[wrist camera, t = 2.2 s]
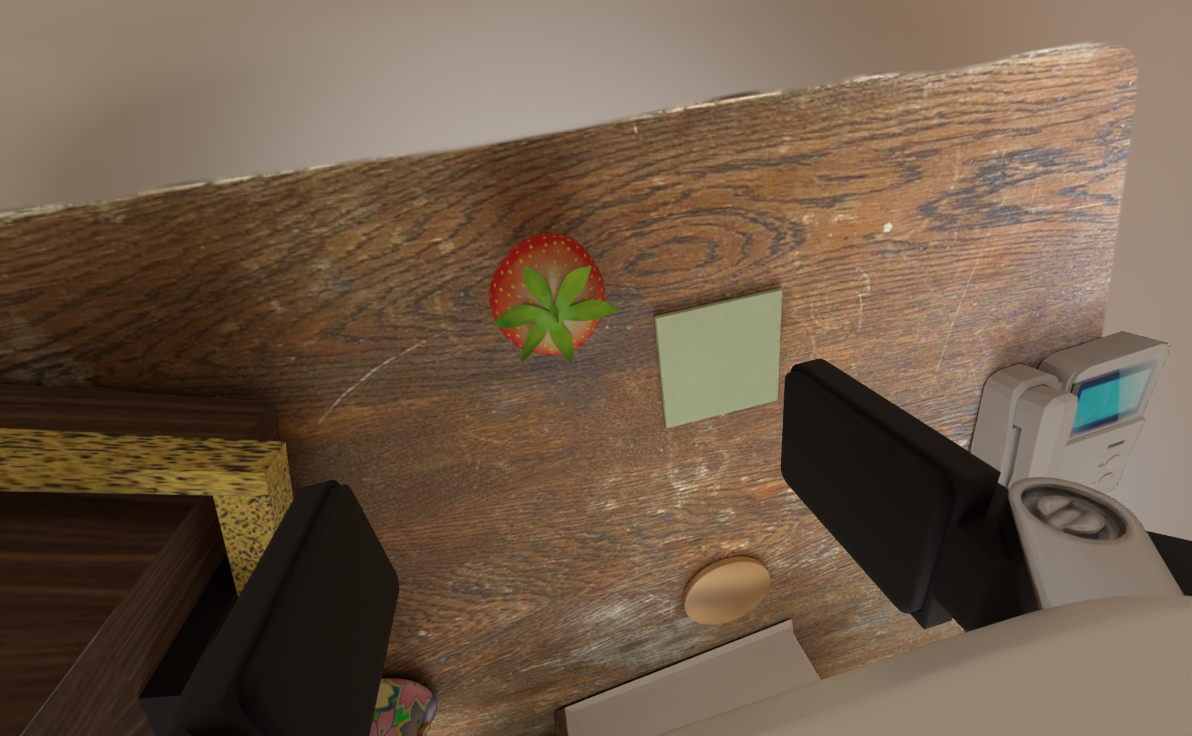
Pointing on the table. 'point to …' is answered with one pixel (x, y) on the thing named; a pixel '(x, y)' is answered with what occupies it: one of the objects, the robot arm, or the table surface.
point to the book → (694, 688)
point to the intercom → (1070, 412)
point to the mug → (403, 709)
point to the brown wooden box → (124, 548)
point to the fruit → (548, 295)
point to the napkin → (719, 356)
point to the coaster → (726, 590)
